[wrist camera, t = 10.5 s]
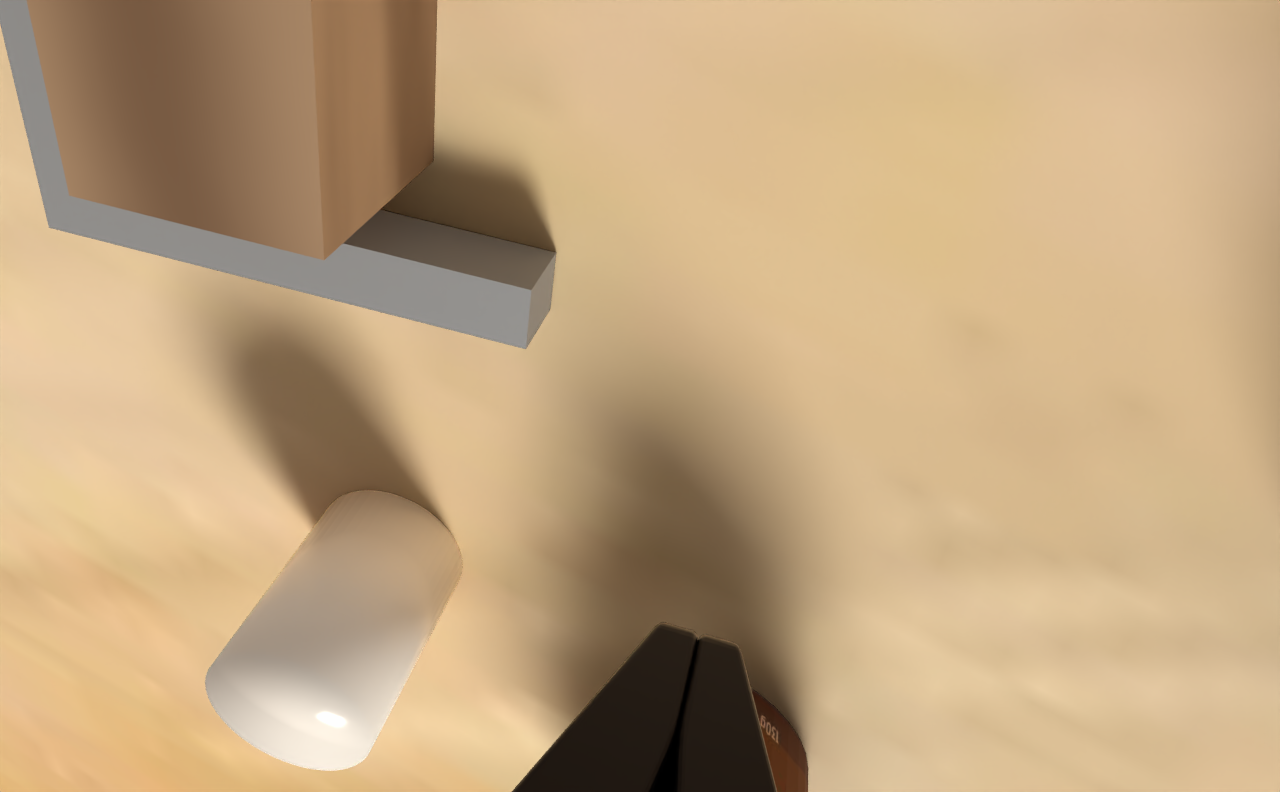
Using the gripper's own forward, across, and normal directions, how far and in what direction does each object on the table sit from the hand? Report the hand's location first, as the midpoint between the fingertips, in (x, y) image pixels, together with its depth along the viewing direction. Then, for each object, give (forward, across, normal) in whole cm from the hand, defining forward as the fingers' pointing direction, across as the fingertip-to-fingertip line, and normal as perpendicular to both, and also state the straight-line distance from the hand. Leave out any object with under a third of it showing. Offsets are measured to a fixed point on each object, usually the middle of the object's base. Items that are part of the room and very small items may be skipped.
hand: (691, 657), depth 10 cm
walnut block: (+12, +10, -1) cm, 16 cm away
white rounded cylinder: (+12, +9, +14) cm, 20 cm away
